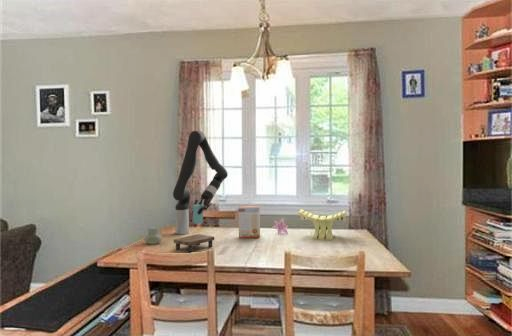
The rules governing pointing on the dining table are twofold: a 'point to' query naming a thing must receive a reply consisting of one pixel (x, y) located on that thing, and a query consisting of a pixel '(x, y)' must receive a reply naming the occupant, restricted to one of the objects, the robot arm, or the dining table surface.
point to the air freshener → (153, 236)
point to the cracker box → (249, 221)
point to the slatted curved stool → (322, 223)
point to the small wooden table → (193, 241)
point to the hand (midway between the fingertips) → (195, 213)
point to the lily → (280, 226)
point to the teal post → (196, 217)
